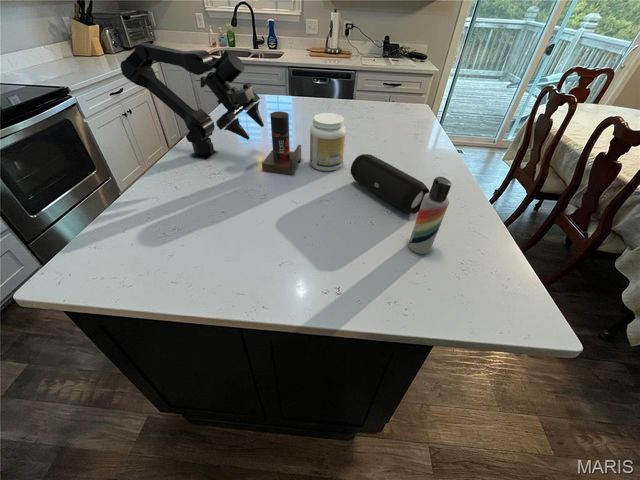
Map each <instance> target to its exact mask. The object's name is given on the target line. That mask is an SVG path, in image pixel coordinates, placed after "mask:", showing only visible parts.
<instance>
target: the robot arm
mask: <svg viewBox="0 0 640 480" xmlns="http://www.w3.org/2000/svg"><path fill="white" fill-rule="evenodd" d="M154 62H159V63H164V64H169V65H173V66H177V67H180V68H183V69H184V70H185V71H186V72H187V73H190V74H193V75H196V76H201V75H203V76H201V77H199V80H200V88H205V87H208V88H209V89H210V91H211V92H212V93H213V95H214V96H215V97H216V99H218V100H216V102H217V103H218V105H220V104H221V105H222V106H223V107H224V108H225V109H226V111H225V112H224V113H223V114H222V115H221V116H220V117H219V118H218V119H217V120H216V121H215V122H214V120H213V119H212V116H211V115H209V114H208V113H207V112H206V111H205V110H203V108H199V109H197V110H196V109H194V108H192V107H191V106H190V105H189V104H187V102H185V101H184V100H183V99H181V97H180V96H178V95H177V94H176V93H175V92H174V91H173V90H171V88H169V87H168V86H167V85H166V84H165V83H164V82H162V81H161V80H160V79H159V78H158V77H157V75H156V72H155V71H154V69H153V67H152V66H153V65H154ZM120 70H121V74H122V75H123V77H124V78H125V79H126V80H128V81H130V82H131V83H133V84H134V85H136V86H139V87H142V88H143V89H146V90H148V91H149V92H150V93H151V94H153V95H154V96H155V97H156V98H157V99H159V100H160V101H161V102H162V103H163V104H164V105H165V106H166V107H168V108H169V109H170V110H172V111H173V113H175V114H176V115H177V116H178V117H180V118H181V119H182V121H184V124H185V126H186V128H187V130H188V133H186V135H185V138H186V140H187V141H188V143H191V145H192V150H193V154H191V156H192V157H193V158H194V157H195V158H201V159H205V160H207V159H210V158H211V157H212V156H213V155H214V154H215V153H217V152H216V151H217V150H215V148H214V143H213V142H212V139H211V136H213V133H214V131H215V127H217V128H218V129H219V130H220V131H222V130H224V131H229V132H231V133H234V134H235V135H237V136H240V137H241V138H243V139H246V140H247V141H248V140H250V138H251V137H250V136H249V135H248V133H247V131H246V130H245V128H244V127H243V126H242V125H241V124H240V123H241V122H240V120H239V117H237V116H238V115H240V114H241V113H242V112H243V111H246V112H245V114H246V115H248V116H249V118H251V119H252V120H253V121H254V123H257V125H258V126H259V127H260V128H263V127H264V126H265V125H264V122H263V119H262V116H261V114H260V110H259V104H260V100H261V97H260V96H259V95H258V94H257V93H256V92H255V91H256V90H255V88H254V86H253V85H252V84H251V83H250V82H245V83H244V84H243V85H242V88H240V89H238V88H237V87H236V86H233V87H232V86H231V84H230V83H233V82H234V81H235V80H236V79H237V78H238V77H239V76H240V75H241V74H242V73H243V72H244V71H245V65H244V62H243V61H242V60H241V58H240V57H238V56H237V55H236V54H234V53H232V52H231V50H230V49H226V50H224V52H222V54H221V56H220V57H216V56H213V55H211V53H210V52H209V51H208V50H204V49H193V50H180V49H177V48H170V47H167V46H162V45H157V44H152V43H151V42H145V43H140V44H137V46H136V47H135V49H134V50H133V51H132V52H131V53H130V54H129V55H128V56H127V57H126V58H125V59H124V60H122V61H121V62H120ZM213 70H215V71H213ZM206 73H207V74H206ZM204 74H206V76H204ZM215 124H216V126H215Z"/></svg>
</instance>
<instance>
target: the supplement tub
mask: <svg viewBox="0 0 640 480" xmlns="http://www.w3.org/2000/svg"><path fill="white" fill-rule="evenodd" d="M344 125H345V117H344V116H343V115H340V114H337V113H332V112H322V113H317V114H316V115H314V116H313V118H312V125H311V127H310V130H309V132H310V134H309V135H310V137H309V163H310V166H311V167H312V168H314V169H315V170H318V171H321V172H332V171H336V170H338V169H340V168H341V167H342V166H343V163H344V152H345V141H346V127H345V126H344Z"/></svg>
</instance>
